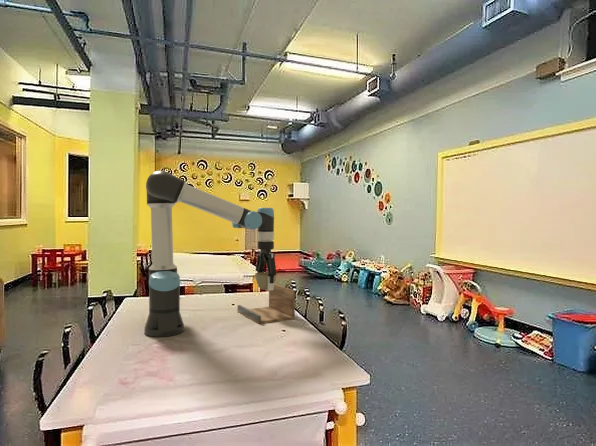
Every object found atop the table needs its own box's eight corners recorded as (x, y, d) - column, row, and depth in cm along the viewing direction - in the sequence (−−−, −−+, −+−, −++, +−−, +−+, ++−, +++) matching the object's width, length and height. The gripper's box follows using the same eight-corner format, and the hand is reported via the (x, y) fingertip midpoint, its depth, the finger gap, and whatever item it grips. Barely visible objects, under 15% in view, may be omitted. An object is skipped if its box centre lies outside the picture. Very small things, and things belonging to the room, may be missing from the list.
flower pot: (275, 290, 188) (275, 275, 188) (253, 290, 189) (253, 274, 188) (277, 287, 198) (277, 272, 198) (256, 286, 199) (256, 271, 198)
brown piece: (258, 324, 179) (258, 294, 178) (237, 312, 199) (237, 285, 199) (294, 319, 188) (294, 290, 188) (270, 308, 209) (271, 282, 208)
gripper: (284, 241, 185) (284, 291, 186) (262, 239, 205) (262, 284, 205) (269, 242, 181) (269, 293, 182) (248, 239, 201) (248, 285, 201)
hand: (265, 288), depth 193 cm, fingers closed on flower pot, 10 cm apart
